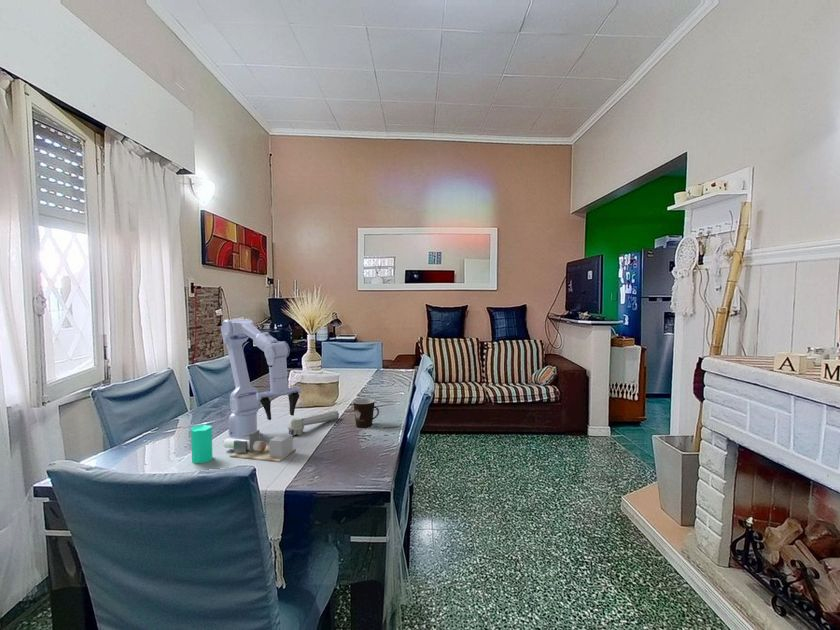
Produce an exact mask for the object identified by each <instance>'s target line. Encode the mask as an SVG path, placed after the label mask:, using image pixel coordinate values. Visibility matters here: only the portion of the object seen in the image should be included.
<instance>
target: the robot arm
mask: <svg viewBox="0 0 840 630" xmlns="http://www.w3.org/2000/svg"><path fill="white" fill-rule="evenodd" d="M220 333H221V336H222V340H223V344H226V347H227V352H228V359H229V362H230V367H231V372H232V377H233V381H234V386H235V389H233V391H232V392H231V393H230V395H229V409H230V411H231V412H232V413H231V414H230V415H229V417H228V436H227V437H226V438H234V439H243V436H245V435H247V436H249V434H250V433H252V432H254V431H256V430H258V420H257V419H258V416H257V415H258V413H259V410H260V409H261V408H262V407H263V408H264V409H263V410H264V411H265V414H266V419H267V420H268V421H271V420H272V411H271V406H272V404H271V402H272V400H270V398H275V397H277V398H278V397H281V396H282V397H283V396H287V397H288V402H289V415H290V416H292V417H293V416H294V415H295V411H296V410H295V409H296V406H297V403H298V401H299V399H300V394H301V393H302V387H301V386H295V387H289V382H288V368H287V366H288V365H287V363H288V362H287V358H288V357H289V355H290V351H291V349H290V346H289V344H288V342H287V341H285V340H283V341H280V340H277V338H275V337H273V336H272V335H271V334H270V332H269V331H265V332H263V331H262V332H261V331H260V330H259V329H258V328H257V327H256V326H255V324H254V321H253V320H252V319H251V318H247V317H246V318H241V319H224V320H223V322H222V323H221V327H220ZM249 338H250V339H251V340H252V341H254V345H255V346H256V347H257V348H259V350H261V351H262V352H264V357H265V359H266V363H267V365H268V370H269V371H268V373H269V389H270V390H268V391H267V390H266V391H262V392H259V390H258V388H256V387H254V385H251V381H250V376H249V372H248V367H247V366H248V365H247V362H246V357H245V354H244V347H243V344H244V343H246V342H247V341H248V339H249ZM260 435H263V432H262V431H260Z"/></svg>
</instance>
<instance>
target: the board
mask: <svg viewBox="0 0 840 630" xmlns="http://www.w3.org/2000/svg"><path fill="white" fill-rule="evenodd" d="M296 449H297V448H293V451H294V452H295V451H296ZM293 451H292V452H290V453H291V454H293V453H294V452H293ZM290 453H289V454H290ZM289 454H287V455H286V456H287V457H288V456H290V455H291V454H290V455H289ZM286 456H284V457H283V458H275V457H270V445H266V448H265V450H264V451H263V452H261V451H254V452H250V450H248V453H247V454H240V453H234V452H233V453H231V454H230V455H229V458H236V459H237V458H239V459H248V460H255V461H256V460H257V461H265V462H275V463H280V462H281V461H282V460H284V459H286V458H287V457H286Z"/></svg>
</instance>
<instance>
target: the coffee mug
mask: <svg viewBox="0 0 840 630" xmlns="http://www.w3.org/2000/svg"><path fill="white" fill-rule="evenodd" d="M352 403H353V411H354V418H355V420H354V421H355V426H356V428H359V429H368V428H371V427H373V422H374V419H376V418H377V417H378V416H379V414H380V410H379V408H378V406H375V403H376V402H375V399H373V398H366V397H365V398H357V399H355V400H353V401H352ZM375 410H376V411H377V414H376V415H375V416H374V411H375Z"/></svg>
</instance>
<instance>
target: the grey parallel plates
mask: <svg viewBox="0 0 840 630" xmlns="http://www.w3.org/2000/svg"><path fill="white" fill-rule="evenodd" d="M243 439H244V440H249V436H247V435H245V436H243ZM233 453H240V454H247V453H248V443H247V441H238V440H235V441H234V449H233Z"/></svg>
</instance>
